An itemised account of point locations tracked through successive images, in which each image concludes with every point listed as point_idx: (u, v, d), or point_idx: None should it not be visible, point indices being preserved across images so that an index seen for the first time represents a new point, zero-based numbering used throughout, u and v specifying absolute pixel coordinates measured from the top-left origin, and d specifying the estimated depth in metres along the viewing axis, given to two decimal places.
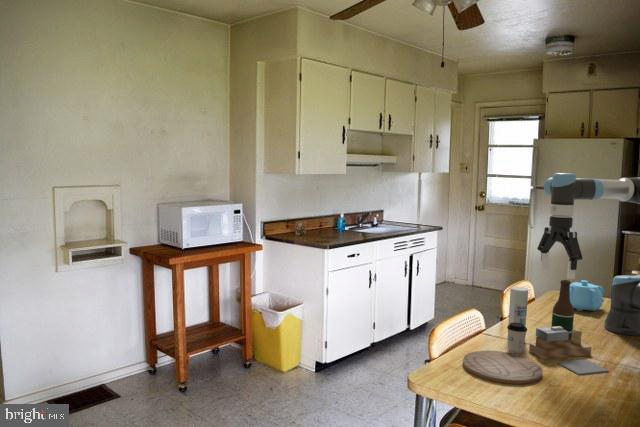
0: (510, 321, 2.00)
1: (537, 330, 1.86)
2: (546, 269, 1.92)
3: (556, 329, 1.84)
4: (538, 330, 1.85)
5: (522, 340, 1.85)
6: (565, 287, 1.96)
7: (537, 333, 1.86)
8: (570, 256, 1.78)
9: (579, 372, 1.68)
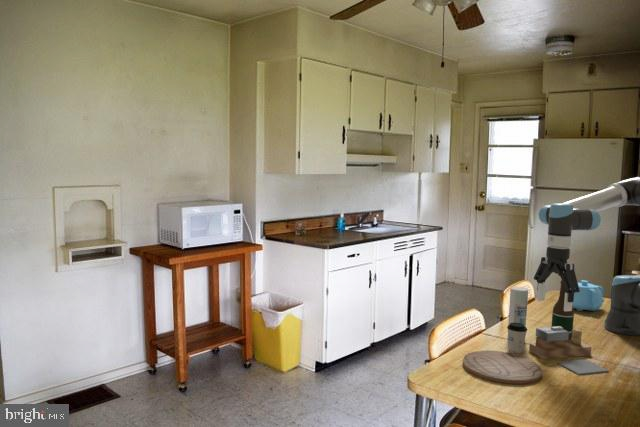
0: (510, 321, 2.00)
1: (537, 330, 1.86)
2: (542, 299, 1.90)
3: (556, 329, 1.84)
4: (538, 330, 1.85)
5: (522, 340, 1.85)
6: None
7: (537, 333, 1.86)
8: (567, 288, 1.76)
9: (579, 372, 1.68)
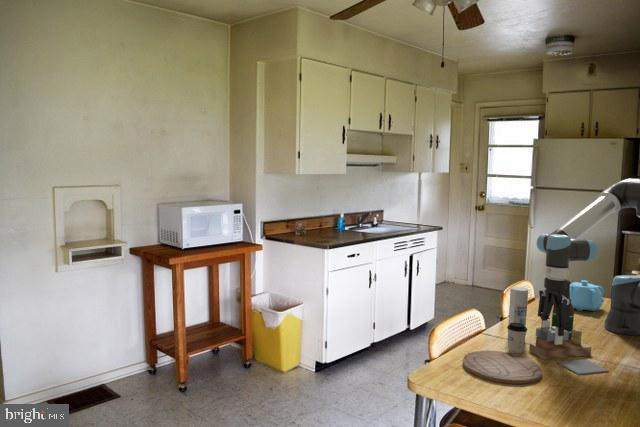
0: (510, 321, 2.00)
1: (537, 330, 1.86)
2: None
3: None
4: (538, 330, 1.85)
5: (522, 340, 1.85)
6: None
7: (537, 333, 1.86)
8: (558, 322, 1.80)
9: (579, 372, 1.68)
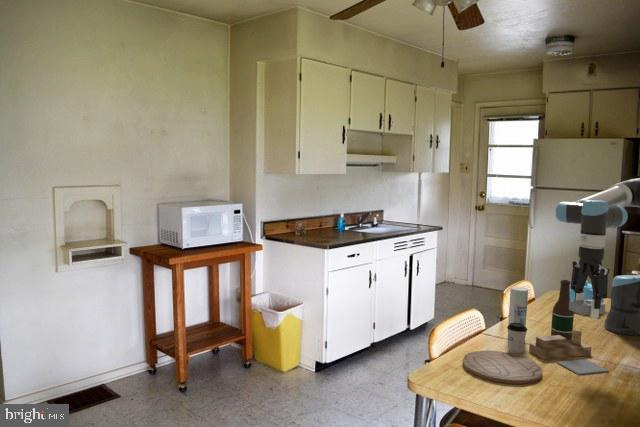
0: (510, 321, 2.00)
1: (571, 303, 1.73)
2: None
3: None
4: (572, 303, 1.72)
5: (522, 340, 1.85)
6: (565, 287, 1.96)
7: (571, 306, 1.73)
8: (594, 294, 1.67)
9: (579, 372, 1.68)
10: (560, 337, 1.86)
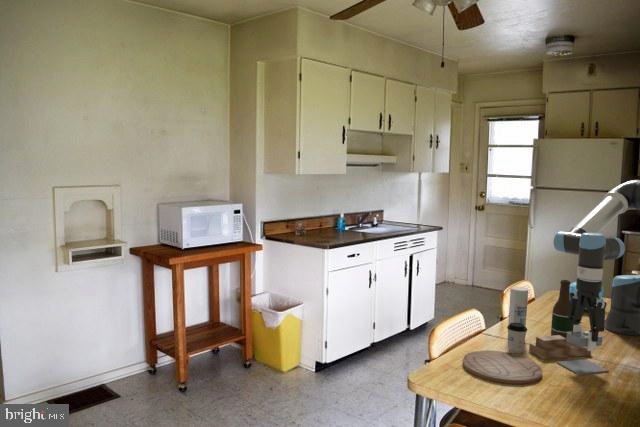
0: (510, 321, 2.00)
1: (568, 335, 1.74)
2: None
3: None
4: (569, 335, 1.73)
5: (522, 340, 1.85)
6: (565, 287, 1.96)
7: (568, 338, 1.74)
8: (592, 327, 1.68)
9: (579, 372, 1.68)
10: (560, 337, 1.86)
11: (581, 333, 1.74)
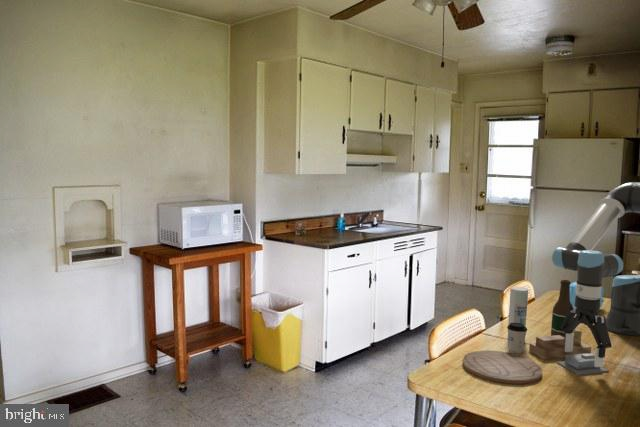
0: (510, 321, 2.00)
1: (567, 358, 1.74)
2: (570, 350, 1.80)
3: (587, 357, 1.73)
4: (568, 358, 1.74)
5: (522, 340, 1.85)
6: (565, 287, 1.96)
7: (567, 361, 1.74)
8: (598, 343, 1.66)
9: (579, 372, 1.68)
10: (560, 337, 1.86)
11: (579, 356, 1.75)
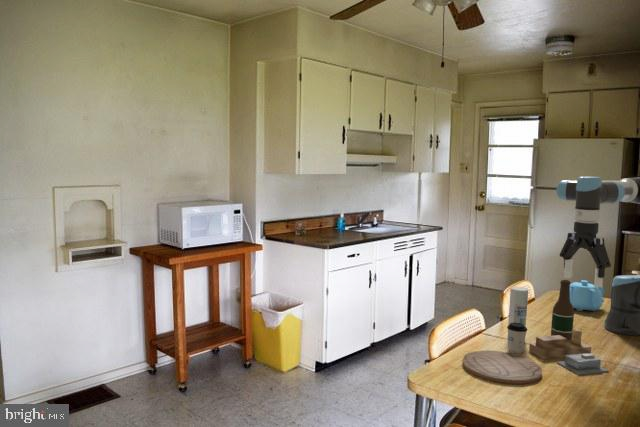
0: (510, 321, 2.00)
1: (567, 358, 1.74)
2: (569, 276, 1.85)
3: (587, 357, 1.73)
4: (568, 358, 1.74)
5: (522, 340, 1.85)
6: (565, 287, 1.96)
7: (567, 361, 1.74)
8: (597, 263, 1.70)
9: (579, 372, 1.68)
10: (560, 337, 1.86)
11: (579, 356, 1.75)
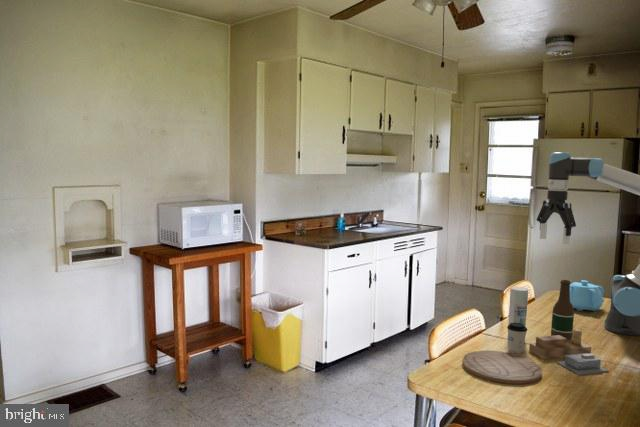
0: (510, 321, 2.00)
1: (567, 358, 1.74)
2: (544, 237, 2.20)
3: (587, 357, 1.73)
4: (568, 358, 1.74)
5: (522, 340, 1.85)
6: (565, 287, 1.96)
7: (567, 361, 1.74)
8: (565, 224, 2.05)
9: (579, 372, 1.68)
10: (560, 337, 1.86)
11: (579, 356, 1.75)
